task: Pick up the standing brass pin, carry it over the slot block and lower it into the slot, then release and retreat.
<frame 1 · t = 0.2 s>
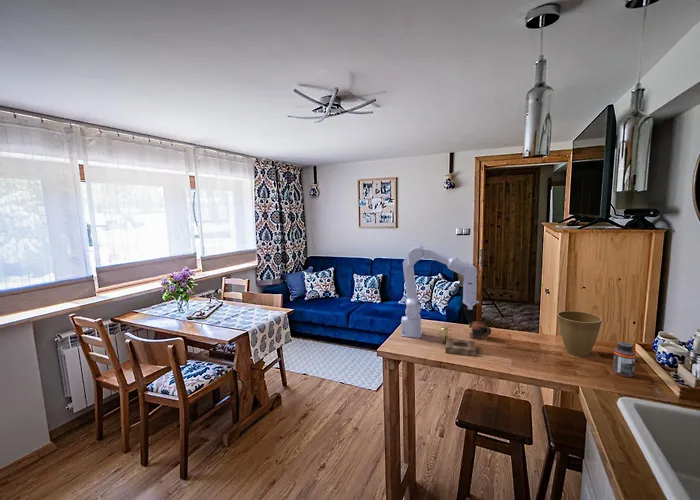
hand: (469, 320, 148), 10 cm above the countertop, fingers open, 7 cm apart
pottery mug: (479, 337, 154), on the countertop
plant pot: (576, 353, 134), on the countertop
pin: (444, 342, 148), on the countertop
slot block: (460, 349, 140), on the countertop
supplement bottle: (623, 374, 116), on the countertop
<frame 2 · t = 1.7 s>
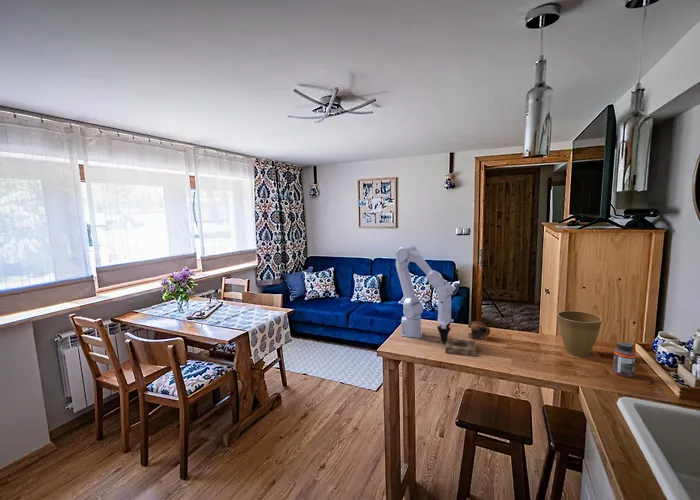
hand: (444, 338, 148), 2 cm above the countertop, fingers open, 7 cm apart
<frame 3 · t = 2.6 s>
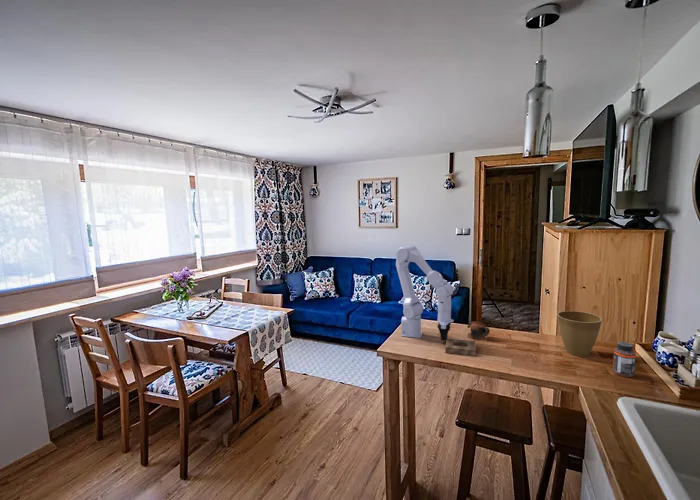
hand: (444, 338, 148), 2 cm above the countertop, fingers closed on pin, 3 cm apart
pin: (444, 342, 148), on the countertop, touching gripper, slot block
everything else where it was.
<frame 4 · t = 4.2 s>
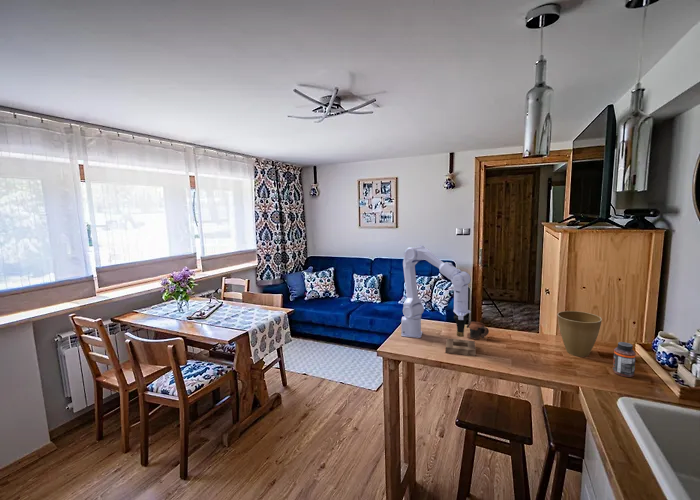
hand: (460, 330, 139), 9 cm above the countertop, fingers closed on pin, 3 cm apart
pin: (460, 335, 140), point 6 cm above the countertop, touching gripper
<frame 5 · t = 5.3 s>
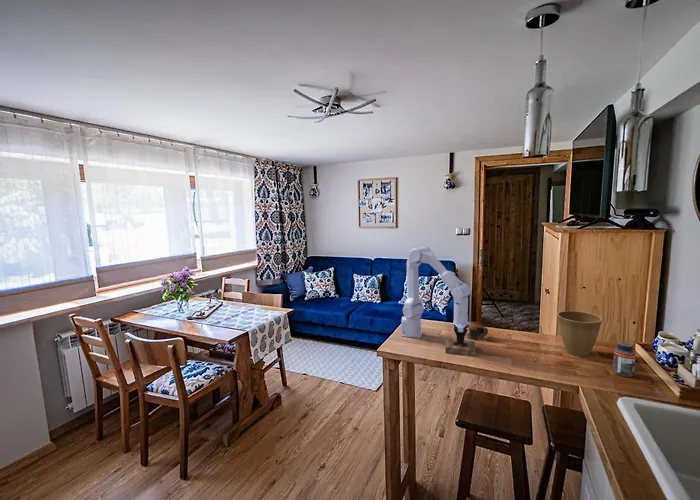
hand: (460, 342, 140), 3 cm above the countertop, fingers closed on pin, 3 cm apart
pin: (460, 346, 140), point 1 cm above the countertop, touching gripper
when the fingers open (3 cm above the countertop, at t = 5.8 s): pin drops 1 cm, resting in slot block.
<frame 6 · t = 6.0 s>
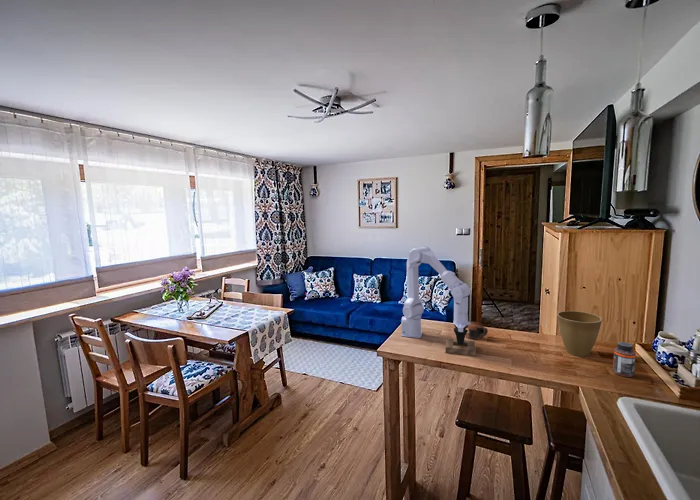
hand: (460, 342, 140), 3 cm above the countertop, fingers open, 5 cm apart
pin: (460, 349, 140), resting in slot block
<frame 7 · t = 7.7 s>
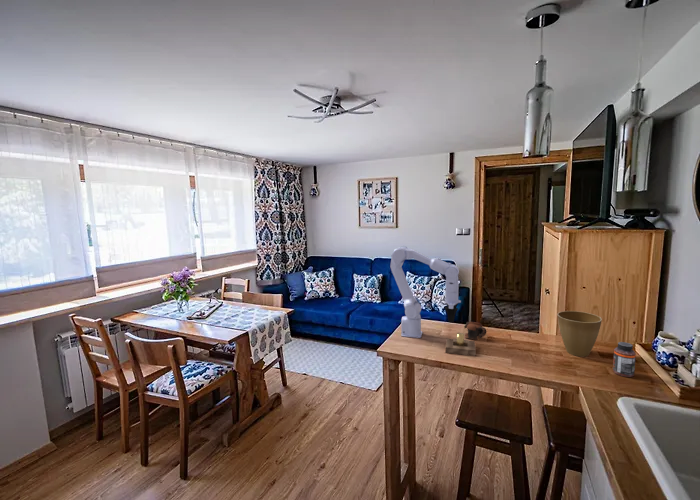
hand: (451, 319, 150), 10 cm above the countertop, fingers open, 7 cm apart
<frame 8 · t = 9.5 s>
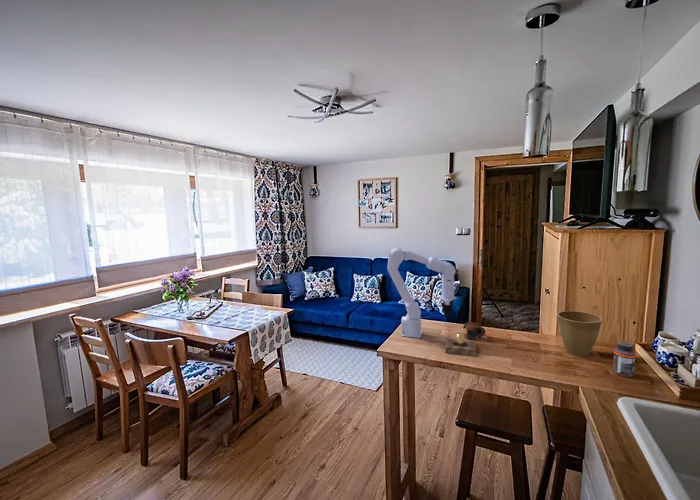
hand: (447, 315, 156), 10 cm above the countertop, fingers open, 7 cm apart
at the end: pin 0.1 cm off-centre on the slot block, point 0.0 cm above the slot block's base; pin tilted 1°; the gripper is holding nothing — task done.
